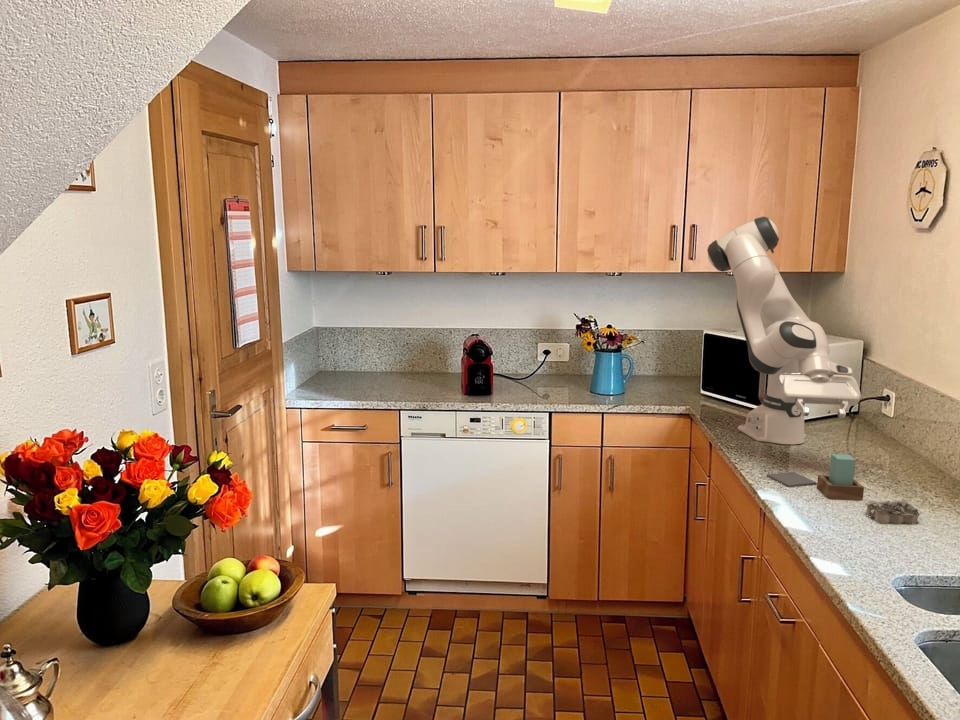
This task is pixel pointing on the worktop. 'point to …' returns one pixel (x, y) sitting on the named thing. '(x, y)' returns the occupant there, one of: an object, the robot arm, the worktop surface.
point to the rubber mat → (791, 479)
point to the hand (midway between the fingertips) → (823, 415)
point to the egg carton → (892, 512)
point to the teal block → (841, 469)
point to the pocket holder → (840, 489)
